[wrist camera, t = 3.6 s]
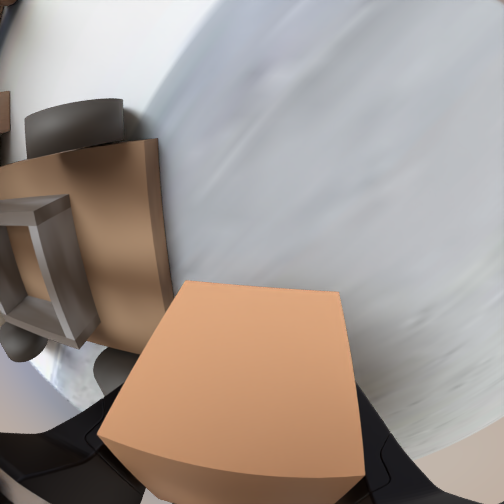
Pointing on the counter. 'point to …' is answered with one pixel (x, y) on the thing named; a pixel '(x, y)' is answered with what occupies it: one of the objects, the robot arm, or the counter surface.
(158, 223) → the chassis
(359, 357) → the counter surface
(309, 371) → the orange block
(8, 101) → the wooden toy
